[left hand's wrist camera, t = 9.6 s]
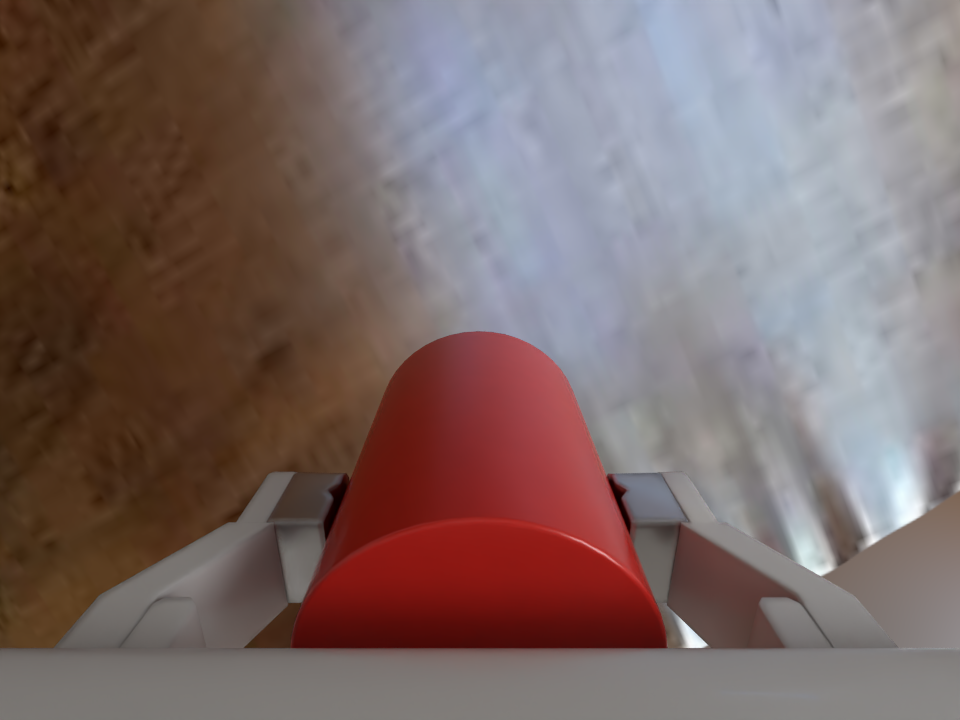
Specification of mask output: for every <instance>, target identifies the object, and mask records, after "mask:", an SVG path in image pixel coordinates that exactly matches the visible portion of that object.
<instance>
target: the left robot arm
mask: <svg viewBox="0 0 960 720" xmlns="http://www.w3.org/2000/svg"><path fill="white" fill-rule="evenodd" d="M607 479H608V481H609V484H610V486H611V489H612V492H613V494H614V497H615V499H616V502H617V504H618V507H619V509H620V512H621V514H622V517H623V519H624V522H625V524H626V527H627V529H628V532H629V535H630V537H631V540H632V542H633V545H634V547H635V550H636V552H637V555H638V557H639V560H640V562H641V565H642V567H643V570H644V573H645V575H646V578H647V580H648V583H649V585H650V588H651V590H652V593H653V595H654V598H655V600H656V603H667V606H668V607H669V608H670V609H672V610H673V611H674V612H675V613H676V614H677V615H678V616H679V617H680V618H681V619H682V620H683V621H684V622H685V623H686V624H687V625H688V626H689V627H690V628H691V629H692V630H693V631H694V632H695V633H696V634H697V635H698V636H700V637H701V638H702V639H703V640H704V641H705V642H706V643H707V644H708V645H709V646H710V647H711V648H244V647H245V646H246V645H247V644H248V643H249V642H250V641H251V640H252V639H253V638H254V637H255V636H256V635H257V634H258V633H259V632H261V631H262V630H263V629H264V628H265V627H266V626H267V625H268V624H269V623H270V622H271V621H272V620H273V619H274V618H275V617H276V616H277V615H278V614H279V613H280V612H281V611H283V610H284V609H285V608H286V607H287V606H288V603H299V602H302V601H303V598H304V596H305V593H306V591H307V588H308V586H309V583H310V581H311V578H312V576H313V573H314V570H315V568H316V565H317V563H318V560H319V558H320V555H321V553H322V550H323V548H324V545H325V543H326V540H327V538H328V535H329V532H330V530H331V527H332V525H333V522H334V520H335V517H336V515H337V512H338V510H339V507H340V505H341V502H342V499H343V497H344V494H345V492H346V489H347V487H348V484H349V477H348V475H347V474H346V473H320V472H298V473H297V472H272V473H270V474H268V475H267V477H266V478H265V480H264V481H263V483H262V484H261V486H260V487H259V489H258V490H257V492H256V493H255V495H254V496H253V498H252V499H251V501H250V502H249V504H248V505H247V507H246V508H245V510H244V511H243V513H242V514H241V516H240V517H239V519H238V520H237V522H236V523H227V524H225V525H223V526H221V527H220V528H218V529H216V530H214V531H212V532H211V533H209V534H207V535H205V536H204V537H202V538H200V539H198V540H196V541H195V542H193V543H191V544H189V545H188V546H186V547H184V548H182V549H181V550H179V551H177V552H175V553H173V554H172V555H170V556H168V557H166V558H165V559H163V560H161V561H159V562H157V563H156V564H154V565H152V566H150V567H149V568H147V569H145V570H143V571H141V572H140V573H138V574H136V575H134V576H133V577H131V578H129V579H127V580H125V581H124V582H122V583H120V584H118V585H117V586H115V587H113V588H111V589H109V590H108V591H106V592H104V593H102V594H101V595H99V596H98V597H97V599H96V600H95V601H94V602H93V603H92V604H91V605H90V607H89V608H88V609H87V610H86V611H85V612H84V614H83V615H82V616H81V617H80V618H79V619H78V620H77V622H76V623H75V624H74V625H73V626H72V627H71V629H70V630H69V631H68V632H67V633H66V634H65V635H64V637H63V638H62V639H61V640H60V641H59V642H58V644H57V645H56V646H55V647H54V648H0V720H960V648H898V647H897V645H896V644H895V643H894V642H893V641H892V639H891V638H890V637H889V636H888V635H887V633H886V632H885V631H884V630H883V629H882V628H881V626H880V625H879V624H878V623H877V622H876V620H875V619H874V618H873V617H872V616H871V615H870V613H869V612H868V611H867V610H866V609H865V607H864V606H863V605H862V604H861V603H860V602H859V600H858V599H857V598H856V597H855V596H854V595H852V594H850V593H849V592H847V591H845V590H843V589H842V588H840V587H838V586H836V585H835V584H833V583H831V582H829V581H828V580H826V579H824V578H822V577H821V576H819V575H817V574H815V573H814V572H812V571H810V570H808V569H807V568H805V567H803V566H801V565H800V564H798V563H796V562H794V561H793V560H791V559H789V558H787V557H786V556H784V555H782V554H780V553H779V552H777V551H775V550H773V549H772V548H770V547H768V546H766V545H765V544H763V543H761V542H759V541H758V540H756V539H754V538H752V537H751V536H749V535H747V534H745V533H744V532H742V531H740V530H738V529H737V528H735V527H733V526H731V525H730V524H728V523H718V521H717V520H716V518H715V517H714V515H713V514H712V512H711V510H710V509H709V507H708V506H707V504H706V503H705V501H704V500H703V498H702V497H701V495H700V494H699V492H698V491H697V489H696V488H695V486H694V485H693V483H692V482H691V480H690V479H689V477H688V476H687V474H686V473H684V472H658V473H622V474H608V475H607Z"/></svg>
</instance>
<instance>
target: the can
mask: <svg viewBox="0 0 960 720" xmlns="http://www.w3.org/2000/svg"><path fill="white" fill-rule="evenodd" d="M290 648H668V645H667V635H666V630H665V626H664V623H663V620H662V616H661V613H660V610H659V608H658V605H657V603H656V600H655V598H654V595H653V593H652V590H651V588H650V585H649V583H648V580H647V578H646V575H645V573H644V570H643V567H642V565H641V562H640V560H639V557H638V555H637V552H636V550H635V547H634V545H633V542H632V540H631V537H630V535H629V532H628V529H627V527H626V524H625V522H624V519H623V517H622V514H621V512H620V509H619V507H618V504H617V502H616V499H615V497H614V494H613V492H612V489H611V486H610V484H609V481H608V479H607V476H606V474H605V471H604V469H603V466H602V464H601V461H600V459H599V456H598V454H597V451H596V448H595V446H594V443H593V441H592V438H591V436H590V433H589V431H588V428H587V426H586V423H585V421H584V418H583V416H582V413H581V411H580V408H579V405H578V403H577V400H576V398H575V395H574V393H573V390H572V388H571V386H570V384H569V382H568V380H567V378H566V377H565V375H564V374H563V372H562V371H561V369H560V368H559V367H558V366H557V365H556V364H555V363H554V362H553V360H552V359H550V358H549V357H548V356H547V355H546V354H544V353H543V352H542V351H541V350H539V349H537V348H536V347H534V346H533V345H531V344H529V343H527V342H525V341H523V340H520V339H518V338H515V337H512V336H508V335H505V334H500V333H494V332H480V331H476V332H464V333H459V334H454V335H449V336H446V337H443V338H440V339H437V340H435V341H433V342H431V343H429V344H427V345H425V346H424V347H422V348H421V349H419V350H418V351H416V352H415V353H413V354H412V355H411V356H410V357H409V358H408V359H407V360H405V361H404V363H403V364H402V365H401V366H400V367H399V368H398V369H397V371H396V372H395V374H394V375H393V377H392V378H391V380H390V382H389V384H388V386H387V388H386V391H385V393H384V395H383V398H382V401H381V403H380V406H379V408H378V411H377V413H376V416H375V418H374V421H373V423H372V426H371V428H370V431H369V434H368V436H367V439H366V441H365V444H364V446H363V449H362V451H361V454H360V456H359V459H358V461H357V464H356V466H355V469H354V472H353V474H352V477H351V479H350V482H349V484H348V487H347V489H346V492H345V494H344V497H343V499H342V502H341V505H340V507H339V510H338V512H337V515H336V517H335V520H334V522H333V525H332V527H331V530H330V532H329V535H328V538H327V540H326V543H325V545H324V548H323V550H322V553H321V555H320V558H319V560H318V563H317V565H316V568H315V570H314V573H313V576H312V578H311V581H310V583H309V586H308V588H307V591H306V593H305V596H304V598H303V601H302V603H301V606H300V609H299V611H298V614H297V616H296V620H295V623H294V627H293V631H292V635H291V647H290Z"/></svg>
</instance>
